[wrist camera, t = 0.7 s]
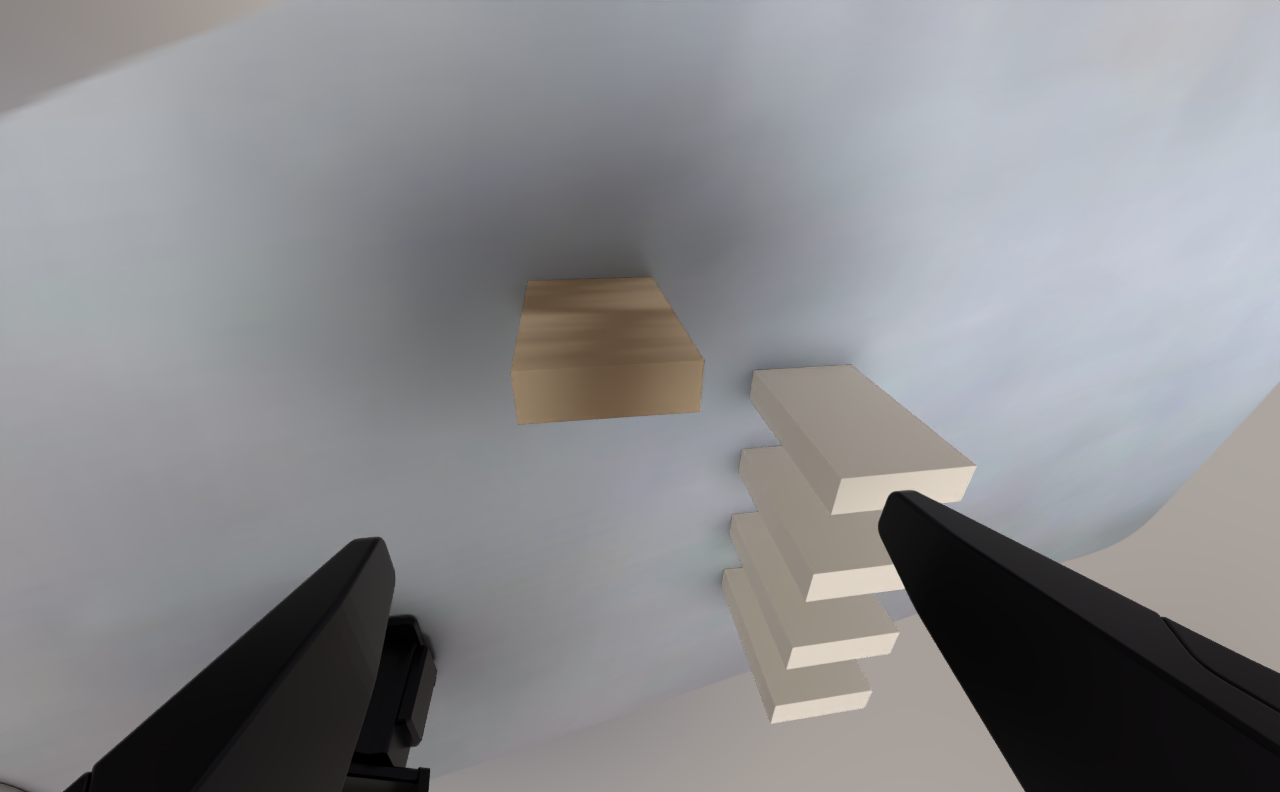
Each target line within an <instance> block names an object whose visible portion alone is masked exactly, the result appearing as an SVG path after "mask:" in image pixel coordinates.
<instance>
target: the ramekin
mask: <svg viewBox="0 0 1280 792" xmlns="http://www.w3.org/2000/svg"><path fill="white" fill-rule="evenodd" d="M0 792H23V791H21V790H19V789H16V788H14V787H11V786H8V785H5V784H1V783H0Z"/></svg>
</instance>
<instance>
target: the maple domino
mask: <svg viewBox="0 0 1280 792" xmlns="http://www.w3.org/2000/svg"><path fill="white" fill-rule="evenodd" d="M703 371H704V359H703V357H702V356H701V354H700V353H699V351H698V349H697V348H696V346H695V345H694V343H693V341H692V340H691V338H690V337H689V335H688V333H687V332H686V330H685V329H684V327H683V325H682V324H681V322H680V321H679V319H678V317H677V316H676V314H675V313H674V311H673V309H672V308H671V306H670V305H669V303H668V301H667V300H666V298H665V297H664V295H663V293H662V292H661V290H660V289H659V287H658V285H657V284H656V282H655V281H654V279H653V277H636V278H602V279H569V280H535V281H528V283H527V288H526V293H525V299H524V304H523V309H522V314H521V319H520V324H519V329H518V335H517V340H516V345H515V350H514V355H513V360H512V366H511V371H510V372H511V379H512V386H513V393H514V400H515V407H516V415H517V422H518V425H520V424H534V423H548V422H562V421H577V420H591V419H605V418H619V417H633V416H648V415H662V414H676V413H690V412H700V404H701V393H702V382H703Z"/></svg>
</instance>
